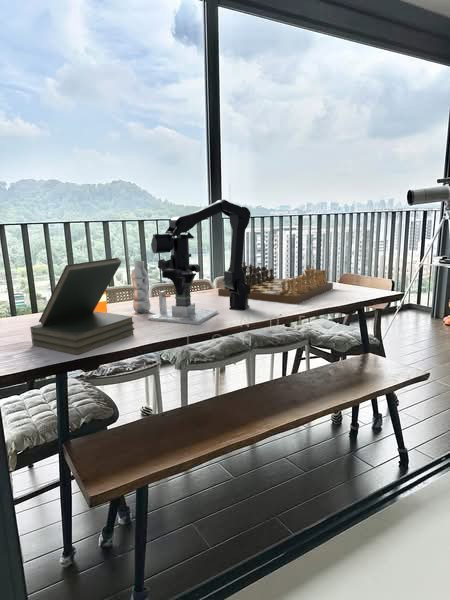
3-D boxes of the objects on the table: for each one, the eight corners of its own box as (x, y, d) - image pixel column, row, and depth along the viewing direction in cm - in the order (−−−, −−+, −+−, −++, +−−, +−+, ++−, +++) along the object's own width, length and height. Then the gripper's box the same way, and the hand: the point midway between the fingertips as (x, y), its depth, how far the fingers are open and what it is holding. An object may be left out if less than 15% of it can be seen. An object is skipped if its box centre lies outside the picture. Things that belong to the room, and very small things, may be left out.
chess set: (332, 290, 204) (333, 259, 201) (296, 305, 172) (297, 270, 169) (261, 283, 227) (261, 256, 224) (218, 296, 195) (217, 265, 192)
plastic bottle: (147, 314, 161) (144, 262, 157) (130, 314, 162) (127, 262, 158) (153, 310, 167) (150, 260, 163) (137, 310, 168) (134, 260, 164)
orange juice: (96, 312, 166) (92, 262, 162) (108, 316, 160) (103, 263, 156) (77, 316, 161) (73, 264, 157) (88, 319, 154) (83, 265, 150)
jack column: (191, 304, 156) (190, 282, 155) (185, 306, 153) (184, 284, 151) (181, 303, 158) (180, 282, 156) (175, 306, 154) (174, 284, 153)
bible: (91, 328, 144) (85, 255, 139) (134, 335, 134) (129, 257, 129) (32, 346, 125) (22, 263, 120) (77, 356, 115) (68, 266, 110)
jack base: (218, 312, 161) (217, 289, 159) (197, 324, 144) (196, 298, 142) (172, 309, 168) (171, 287, 166) (147, 320, 152) (146, 295, 150)
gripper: (174, 249, 163) (176, 288, 166) (147, 253, 146) (150, 297, 149) (200, 249, 159) (201, 290, 162) (175, 254, 142) (178, 299, 145)
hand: (182, 294), depth 155 cm, fingers open, 5 cm apart
